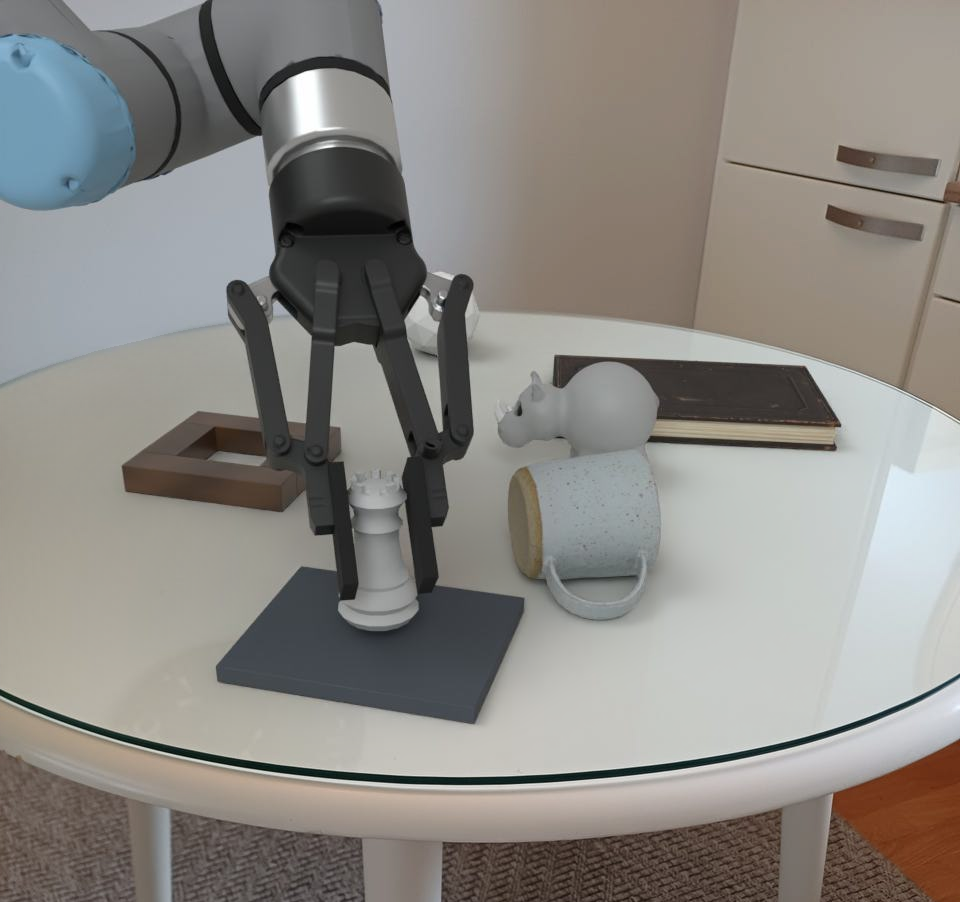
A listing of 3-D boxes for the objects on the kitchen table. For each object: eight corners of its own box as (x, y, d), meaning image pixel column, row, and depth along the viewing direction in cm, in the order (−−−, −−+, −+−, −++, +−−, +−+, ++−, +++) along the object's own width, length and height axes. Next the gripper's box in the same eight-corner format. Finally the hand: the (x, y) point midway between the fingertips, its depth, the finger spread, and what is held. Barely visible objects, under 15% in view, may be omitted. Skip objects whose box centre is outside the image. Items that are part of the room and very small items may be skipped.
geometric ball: (447, 385, 111) (443, 334, 104) (386, 343, 113) (378, 290, 106) (495, 335, 113) (495, 282, 106) (435, 295, 115) (430, 240, 108)
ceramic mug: (500, 549, 74) (505, 438, 69) (619, 540, 75) (630, 431, 71) (541, 632, 65) (550, 511, 61) (675, 620, 66) (692, 501, 62)
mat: (216, 681, 59) (215, 665, 59) (301, 580, 69) (301, 565, 69) (474, 724, 56) (474, 708, 56) (524, 612, 67) (524, 597, 66)
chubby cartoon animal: (492, 453, 88) (496, 345, 84) (645, 458, 88) (656, 350, 84) (491, 489, 82) (495, 375, 78) (655, 495, 82) (668, 381, 78)
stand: (124, 491, 80) (120, 465, 79) (200, 434, 90) (197, 410, 89) (282, 512, 78) (280, 485, 77) (341, 451, 88) (341, 426, 87)
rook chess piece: (348, 591, 64) (343, 459, 60) (425, 598, 64) (425, 465, 59) (328, 630, 60) (321, 492, 56) (410, 638, 60) (409, 499, 56)
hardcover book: (836, 450, 91) (841, 423, 89) (551, 437, 92) (552, 409, 90) (800, 388, 104) (804, 363, 103) (552, 376, 105) (554, 352, 104)
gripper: (469, 222, 67) (528, 596, 62) (188, 228, 64) (226, 623, 59) (493, 138, 60) (562, 552, 55) (178, 139, 57) (220, 580, 52)
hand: (388, 588), depth 57 cm, fingers closed on rook chess piece, 3 cm apart
